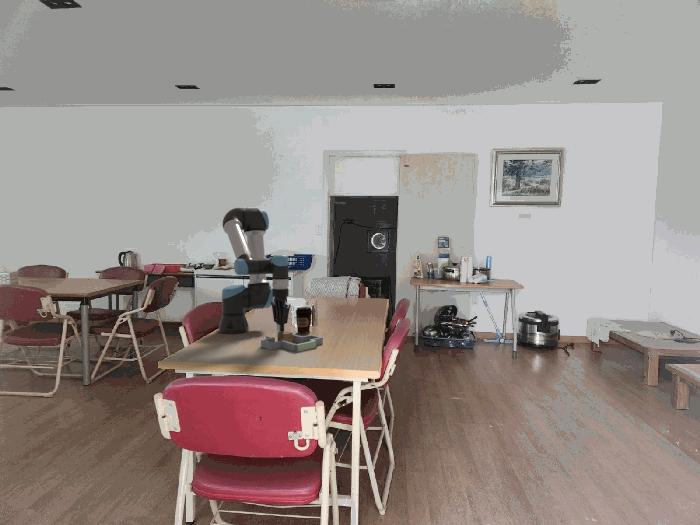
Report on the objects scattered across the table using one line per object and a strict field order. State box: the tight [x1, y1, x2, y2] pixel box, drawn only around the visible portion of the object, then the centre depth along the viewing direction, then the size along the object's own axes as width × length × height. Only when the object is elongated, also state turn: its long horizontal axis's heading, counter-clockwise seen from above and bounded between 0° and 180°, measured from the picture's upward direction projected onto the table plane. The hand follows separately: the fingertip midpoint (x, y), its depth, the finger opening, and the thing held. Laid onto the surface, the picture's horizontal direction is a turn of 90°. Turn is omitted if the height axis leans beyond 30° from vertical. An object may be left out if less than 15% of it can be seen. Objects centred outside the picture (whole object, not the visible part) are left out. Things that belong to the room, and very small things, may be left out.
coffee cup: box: [295, 306, 313, 335], centre depth 244 cm, size 9×8×13 cm
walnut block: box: [277, 330, 294, 344], centre depth 223 cm, size 5×5×5 cm
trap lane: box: [260, 333, 324, 353], centre depth 220 cm, size 23×24×3 cm
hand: (280, 337), depth 225 cm, fingers closed
